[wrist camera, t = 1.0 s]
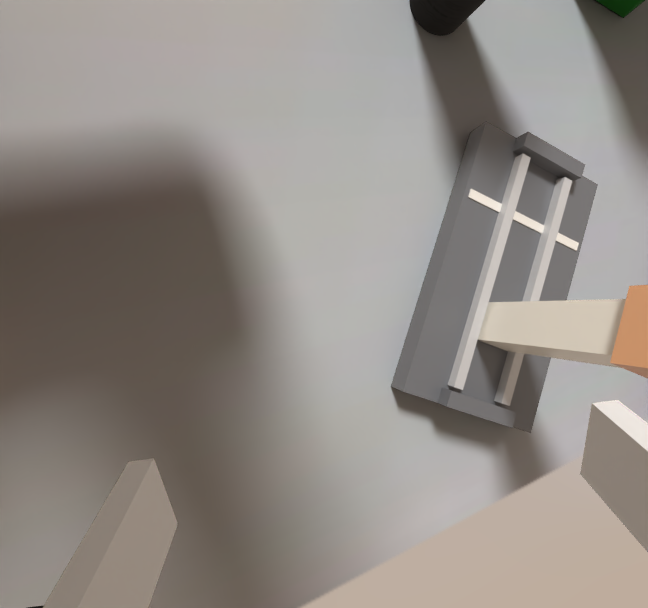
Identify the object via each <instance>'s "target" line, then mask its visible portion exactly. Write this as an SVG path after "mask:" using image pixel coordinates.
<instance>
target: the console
mask: <svg viewBox="0 0 648 608" xmlns="http://www.w3.org/2000/svg"><path fill="white" fill-rule="evenodd" d="M584 167H585V164H583V163H581V162H580V161H578V160H576V159H575V158H573V157H571V156H569V155H568V154H566V153H564V152H562V151H561V150H559V149H557V148H556V147H554V146H552V145H550V144H549V143H547V142H545V141H543V140H542V139H540V138H538V137H537V136H535V135H533V134H531V133H530V132H527V133H525V134H523V135H521V136H520V137H518V138H515V137H513V136H511V135H510V134H508V133H506V132H504V131H503V130H501V129H499V128H497V127H496V126H494V125H492V124H490V123H488V122H487V121H486V122H485V123H483V124H482V125H481V126H479V127H478V128H476V129H475V130H473V131H472V132H471V133H470V135H469V138H468V141H467V145H466V148H465V151H464V154H463V157H462V161H461V164H460V167H459V170H458V173H457V177H456V180H455V183H454V186H453V189H452V193H451V196H450V199H449V202H448V205H447V209H446V212H445V215H444V218H443V221H442V225H441V228H440V231H439V234H438V237H437V241H436V244H435V247H434V250H433V253H432V257H431V260H430V263H429V266H428V269H427V273H426V276H425V279H424V282H423V285H422V289H421V292H420V295H419V298H418V301H417V305H416V308H415V311H414V314H413V317H412V321H411V324H410V327H409V330H408V333H407V337H406V340H405V343H404V346H403V349H402V353H401V356H400V359H399V362H398V365H397V369H396V372H395V375H394V378H393V381H392V385H391V387H394V388H396V389H398V390H400V391H403V392H406V393H409V394H412V395H415V396H418V397H421V398H424V399H427V400H430V401H433V402H437V403H439V404H441V405H444V406H446V407H449V408H452V409H455V410H458V411H461V412H464V413H468V414H471V415H474V416H477V417H480V418H483V419H486V420H489V421H492V422H495V423H499V424H502V425H505V426H508V427H511V428H513V427H514V428H517V429H520V430H523V431H526V432H529V433H531V429H532V426H533V422H534V418H535V415H536V411H537V407H538V403H539V400H540V396H541V392H542V389H543V385H544V381H545V378H546V374H547V370H548V366H549V363H550V359H551V357H544V356H537V355H530V354H523V353H517V352H510V351H505V350H503V349H500V348H498V347H495V346H492V345H490V344H487V343H485V342H482V341H479V340H478V337H479V333H480V330H481V326H482V323H483V320H484V316H485V313H486V309H487V306H488V303H489V302H521V301H563V300H567V296H568V292H569V289H570V285H571V281H572V278H573V274H574V270H575V267H576V263H577V259H578V256H579V252H580V248H581V244H582V241H583V237H584V233H585V230H586V226H587V222H588V219H589V215H590V211H591V207H592V204H593V200H594V196H595V193H596V189H597V185H598V184H596V183H594V182H592V181H591V180H589V179H587V178H585V177H584V176H582V174H583V170H584Z"/></svg>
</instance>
